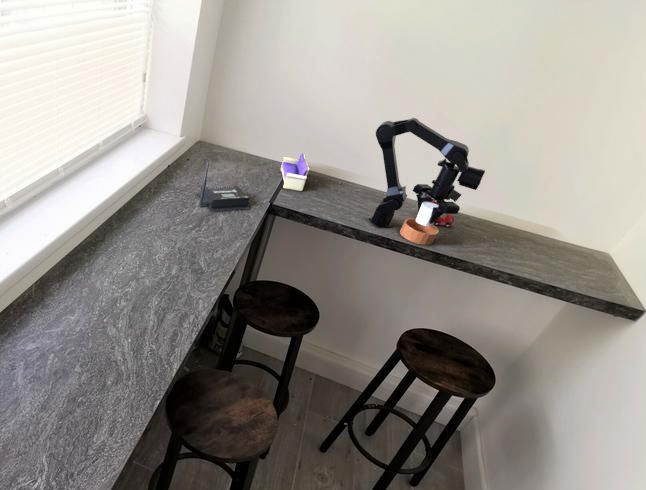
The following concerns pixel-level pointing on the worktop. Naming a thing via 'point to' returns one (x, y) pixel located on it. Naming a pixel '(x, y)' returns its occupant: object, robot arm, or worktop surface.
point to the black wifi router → (223, 197)
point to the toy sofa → (294, 172)
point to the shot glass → (425, 213)
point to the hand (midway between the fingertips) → (425, 219)
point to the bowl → (418, 232)
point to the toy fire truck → (444, 219)
